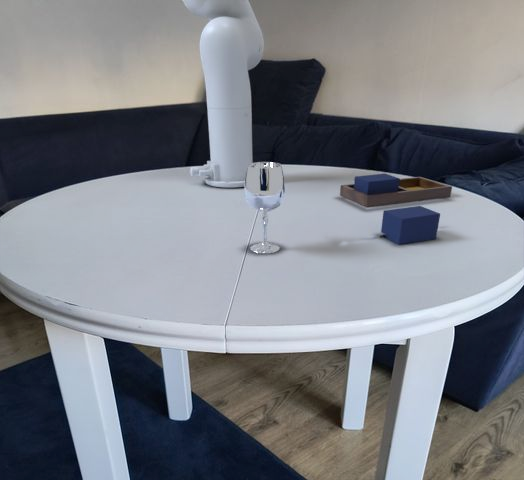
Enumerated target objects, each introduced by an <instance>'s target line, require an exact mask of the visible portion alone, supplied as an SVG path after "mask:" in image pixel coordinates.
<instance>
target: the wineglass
mask: <svg viewBox="0 0 524 480" xmlns="http://www.w3.org/2000/svg"><path fill="white" fill-rule="evenodd" d="M283 171H284V170H283V167H282V164H281V163H280V162H274V161H273V162H272V161H257V162H253V163H251V164H248V167H247V171H246V177H245V185H244V187H243V189H244V190H243V191H244V198H245V201H246V203H247V205H248V207H250V208H252V209H254V210H256V211H257V212H261V213H262V214H261V218H260V219H261V224H262V227H263V228H262V229H263V231H262V232H263V233H262V235H263V237H262V241H261V242H259V243H255V244H252V245H251V246H250V248H249V249H250V251H251V252H253V253H256V254H262V255H263V254H264V255H265V254H266V255H267V254H273V253H276V252H279V251H280V249H281V248H280V246H279V245H278V244H276V243H272V242H269V241H268V239H267V229H268V228H267V226H268V222H269V215H268V212H272V211H274V210H276V209H278V208H279V207H280V206H281V205H282V204H283V201H284V199H285V194H286V184H285V176H284V172H283Z"/></svg>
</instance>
